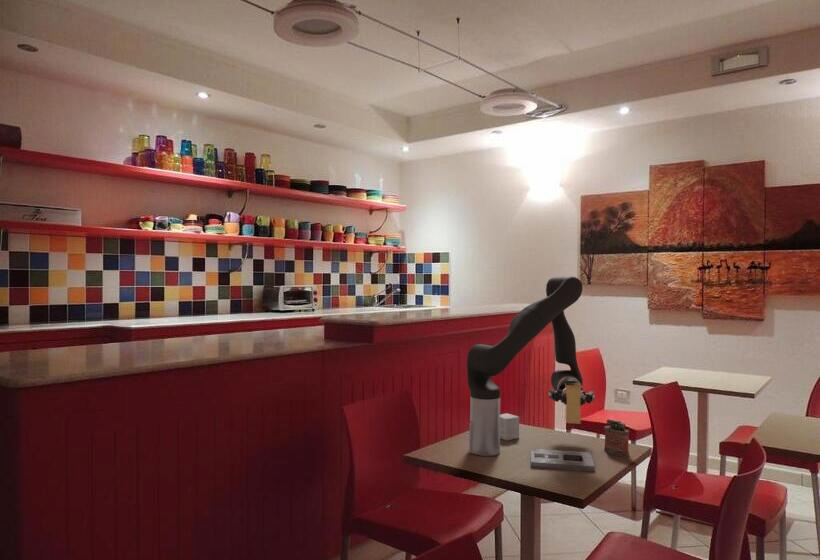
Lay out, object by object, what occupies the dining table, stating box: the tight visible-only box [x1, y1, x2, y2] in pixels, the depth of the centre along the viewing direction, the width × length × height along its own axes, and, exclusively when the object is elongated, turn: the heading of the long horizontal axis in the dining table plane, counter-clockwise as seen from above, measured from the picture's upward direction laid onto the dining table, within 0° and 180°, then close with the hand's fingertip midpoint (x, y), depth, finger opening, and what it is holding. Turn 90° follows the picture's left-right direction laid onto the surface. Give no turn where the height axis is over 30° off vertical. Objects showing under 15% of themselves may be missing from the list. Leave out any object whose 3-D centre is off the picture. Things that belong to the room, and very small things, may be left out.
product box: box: [500, 413, 520, 441], centre depth 194 cm, size 6×6×7 cm
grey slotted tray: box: [530, 448, 596, 473], centre depth 168 cm, size 18×13×2 cm
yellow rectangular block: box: [564, 382, 583, 425], centre depth 167 cm, size 4×4×11 cm
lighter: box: [603, 419, 630, 457], centre depth 177 cm, size 8×3×10 cm, turn 37°
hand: (573, 401), depth 164 cm, fingers closed on yellow rectangular block, 4 cm apart
